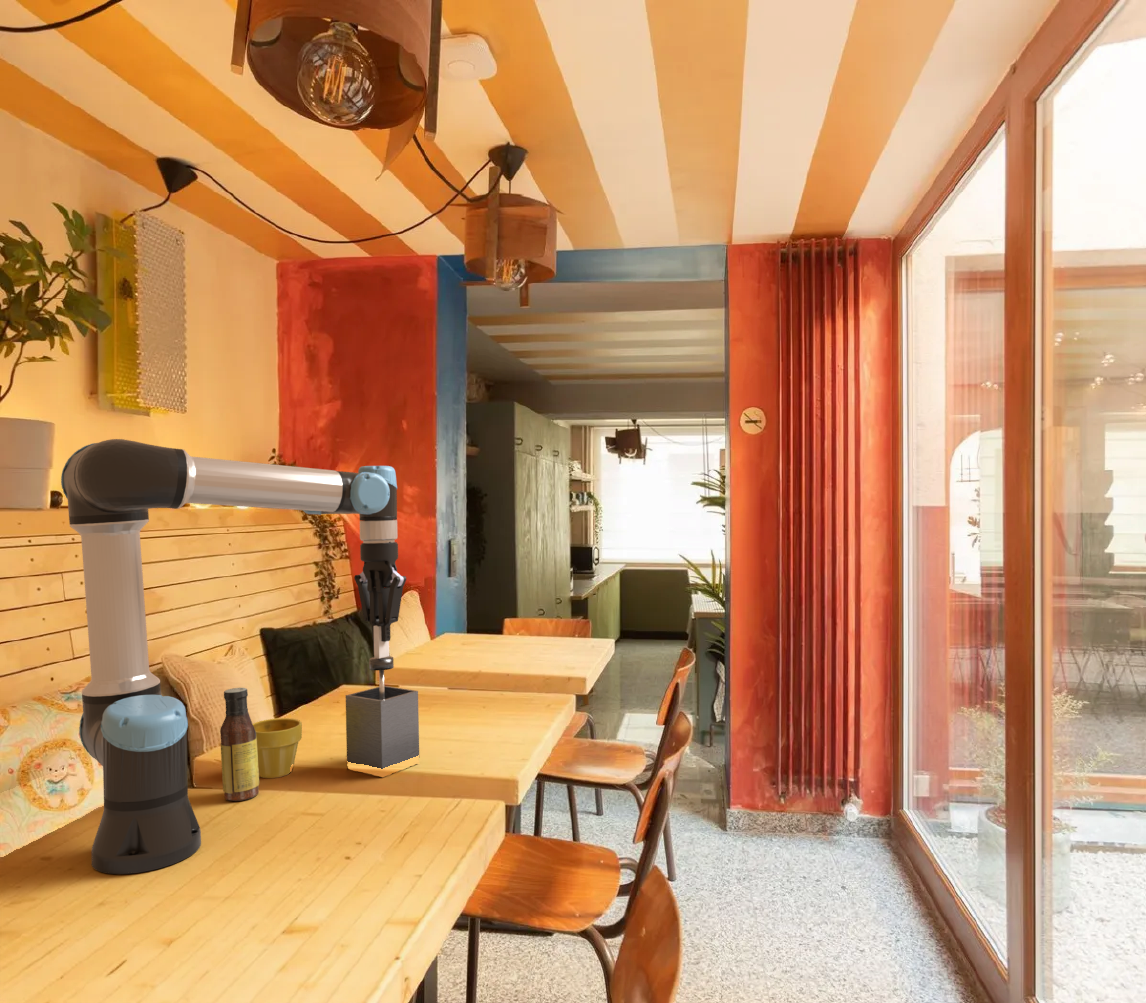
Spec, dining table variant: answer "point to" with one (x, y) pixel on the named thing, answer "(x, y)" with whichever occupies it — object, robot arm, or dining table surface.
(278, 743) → the plant pot
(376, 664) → the plunger
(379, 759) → the dark grey rectangular bin
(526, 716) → the dining table surface
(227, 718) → the sauce bottle
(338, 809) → the dining table surface
